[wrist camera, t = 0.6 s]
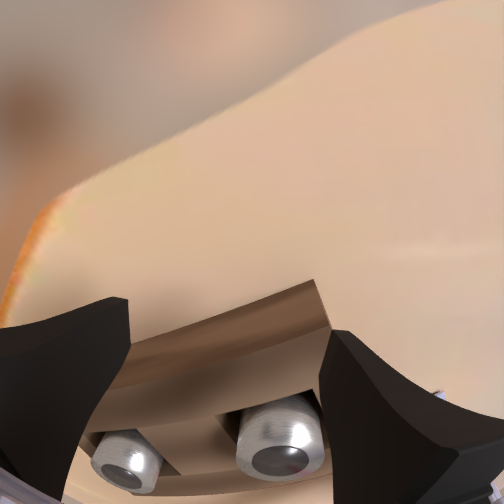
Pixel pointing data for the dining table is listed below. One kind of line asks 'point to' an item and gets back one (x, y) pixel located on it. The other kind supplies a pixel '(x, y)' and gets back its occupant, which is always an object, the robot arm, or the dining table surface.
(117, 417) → the housing
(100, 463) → the knob
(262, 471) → the knob
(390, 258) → the dining table surface
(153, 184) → the dining table surface
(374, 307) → the dining table surface
